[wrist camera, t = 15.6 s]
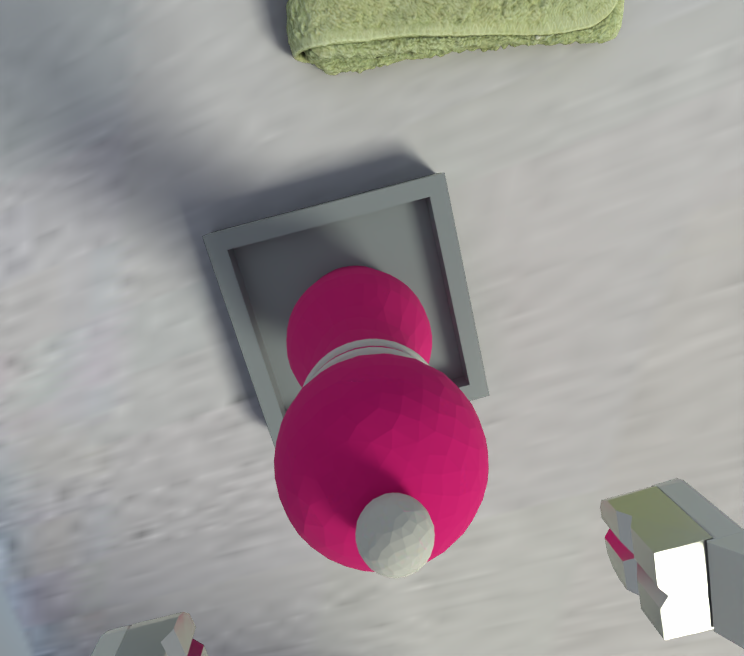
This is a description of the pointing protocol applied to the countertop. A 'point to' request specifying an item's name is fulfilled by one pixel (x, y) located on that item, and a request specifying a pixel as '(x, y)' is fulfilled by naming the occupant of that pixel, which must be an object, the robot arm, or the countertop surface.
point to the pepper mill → (375, 429)
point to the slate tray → (341, 249)
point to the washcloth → (437, 28)
